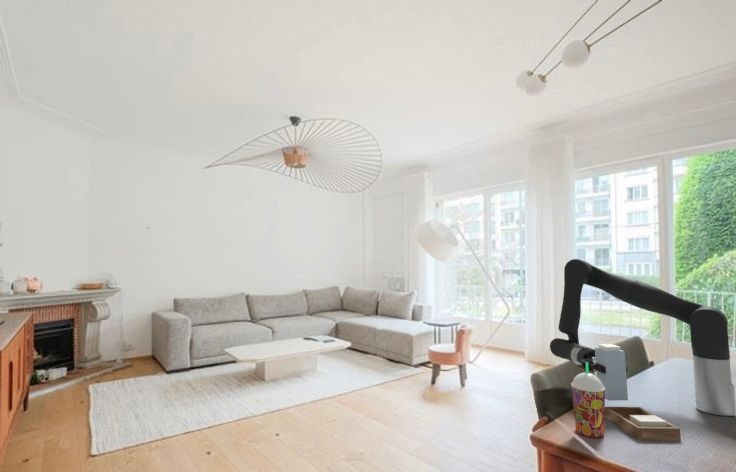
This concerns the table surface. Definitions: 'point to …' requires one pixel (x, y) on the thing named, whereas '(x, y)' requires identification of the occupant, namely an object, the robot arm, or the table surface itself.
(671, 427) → the crate
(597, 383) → the smoothie
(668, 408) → the table surface
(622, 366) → the carton
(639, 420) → the off-white rectangular block
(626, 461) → the table surface
